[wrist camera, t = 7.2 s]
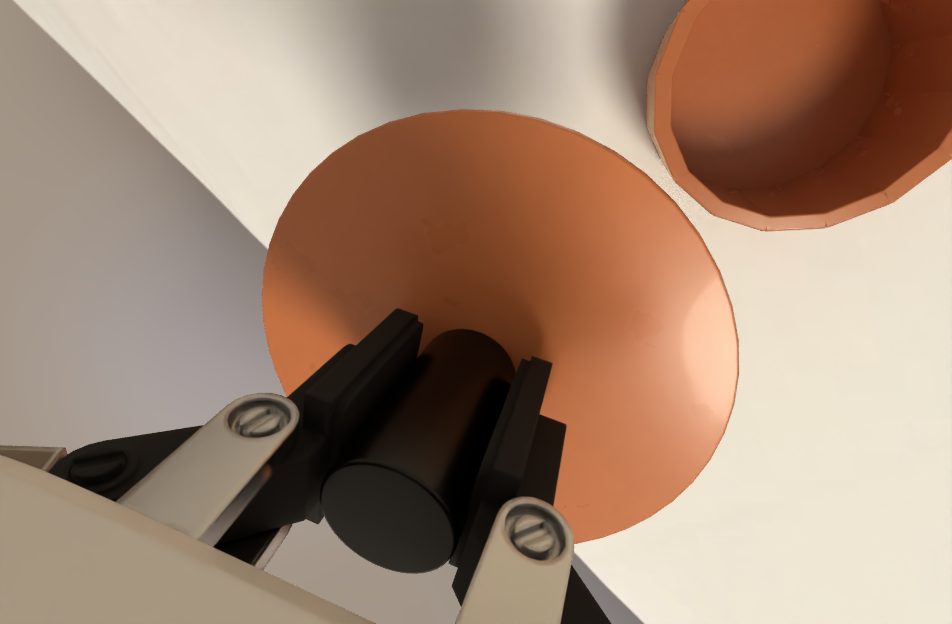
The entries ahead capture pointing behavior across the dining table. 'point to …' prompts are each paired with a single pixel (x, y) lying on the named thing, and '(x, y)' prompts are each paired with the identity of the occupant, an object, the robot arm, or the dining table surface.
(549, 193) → the lid
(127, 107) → the dining table surface
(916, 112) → the orange hollow cylinder
